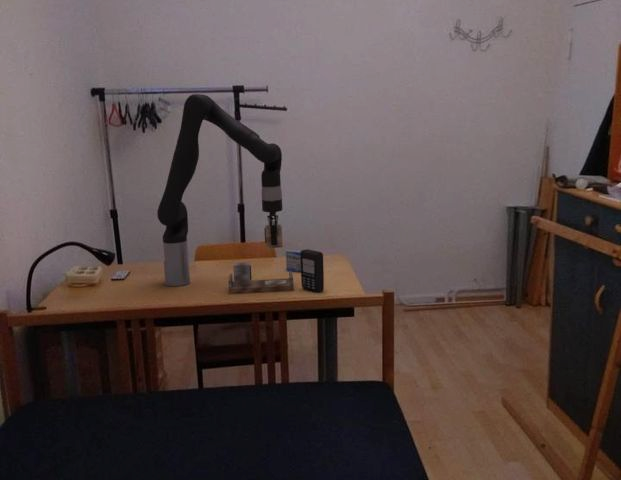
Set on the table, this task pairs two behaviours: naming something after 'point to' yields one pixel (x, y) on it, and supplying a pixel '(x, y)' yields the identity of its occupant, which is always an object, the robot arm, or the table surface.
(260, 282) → the rail
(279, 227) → the finger block
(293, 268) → the medicine box
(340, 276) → the table surface
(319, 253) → the card reader
